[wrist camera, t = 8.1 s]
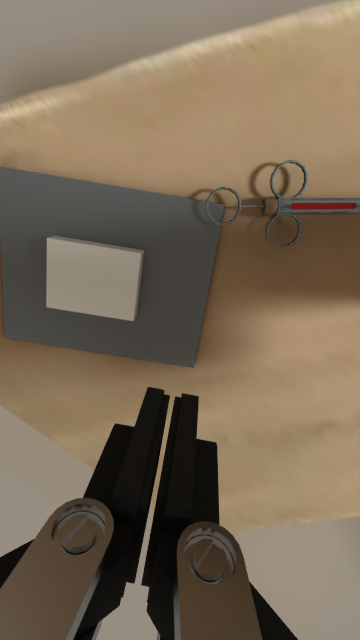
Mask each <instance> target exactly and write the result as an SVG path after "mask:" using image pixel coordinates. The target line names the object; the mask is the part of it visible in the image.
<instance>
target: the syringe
mask: <svg viewBox="0 0 360 640" xmlns="http://www.w3.org/2000/svg"><path fill="white" fill-rule="evenodd" d="M286 163H294V164H296V165H298V166H299V167H301V169H302V171H303V173H304V183H303V186H302V189H301V190H300V191H299V193H298V194H296V195H295V196H293V197H291V198H284V197H281V196H279V194H278V193H277V192H276V191H275V189H274V186H273V179H274V175H275V173H276V172H277V170H278V169H279V168H280V167H281V166H282V165H284V164H286ZM307 181H308V173H307V171H306V168H305V166H303V165H302V164H301V163H299V162H298V161H292V160H288V161H286V162H283V163H281V164H280V165H279V166H278V167H276V168H275V170H274V171H273V173H272V175H271V179H270V187H271V190H272V192H273V193H274V195H275V196H276V197H277V198H274V197H264V198H263V201H262V205H241V199H240V197H239V195H238V193H236V192H235V191H233V190H232V189H230V188H224V187H221V188H219V189H217V190H215V191H214V192H212V193H211V194H210V195H209V197H208V199H207V202H206V212H207V215H208V217H209V218H210V219H211V220H212V221H213V222H214V223H216V224H219V225H226V224H230V223H231V222H233V221H234V220H236V219H237V217H238V216H239V214H240V211H241V208H248V207H262V215H265V216H271V215H274V214H275V216H274V217H272V218H271V219H270V221H269V222H268V224H267V227H266V237H267V239H268V241H269V242H270V243H271V244H272V245H273V246H275V247H278V248H286V247H289V246H291V245H292V244H294V243H295V242H296V241H297V240H298V238H299V237H300V233H301V223H300V221H299V219H298V217H296V216H295V215H293V214H318V213H360V198H323V199H294V198H296V197H298V196H299V195H301V194H302V192H303V191H304V190H305V188H306V185H307ZM222 189H223V190H229V191H231V192H232V193H234V194H235V195H236V197H237V199H238V205H239V207H238V212H237V214H236V216H235V217H234V219H232V220H230V221H229V222H225V223H219V222H217V221H215V220H214V219H213V218H212V217H211V216H210V214H209V212H208V203H209V200H210V198H211V196H212V195H214V194H215V193H216V192H217V191H219V190H222ZM283 214H287V215H290V216H292V217H293V218H295V219H296V222H297V224H298V231H297V235H296V237H295V239H294V240H293V241H292V242H291V243H289V244H287V245H283V246H278V245H275V244H274V243H273V242H272V241H271V240H270V237H269V226H270V224H271V223H272V221H273V220H274V219H275V218H277V217H278V216H280V215H283Z"/></svg>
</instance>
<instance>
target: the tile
mask: <svg viewBox="0 0 360 640" xmlns="http://www.w3.org/2000/svg"><path fill="white" fill-rule="evenodd" d="M143 256H144V250H139V249H133V248H127V247H121V246H115V245H109V244H103V243H97V242H91V241H85V240H79V239H73V238H66V237H60V236H52V237H48V238H47V290H46V307H48V308H54V309H60V310H67V311H73V312H79V313H85V314H92V315H98V316H104V317H110V318H116V319H123V320H129V321H134V319H135V317H136V315H137V308H138V299H139V291H140V282H141V273H142V265H143Z"/></svg>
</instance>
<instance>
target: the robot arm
mask: <svg viewBox="0 0 360 640" xmlns="http://www.w3.org/2000/svg"><path fill="white" fill-rule="evenodd" d="M169 398H170V395H164V390H162V389H157V388H151V387H148V388H147V391H146V394H145V397H144V400H143V403H142V406H141V409H140V412H139V415H138V418H137V421H136V424H135V427H132V426H127V425H121V424H115V425H114V427H113V429H112V431H111V433H110V436H109V438H108V440H107V443H106V445H105V447H104V450H103V452H102V454H101V457H100V459H99V461H98V464H97V466H96V468H95V471H94V473H93V475H92V478H91V480H90V482H89V485H88V487H87V489H86V492H85V494H84V497H83V498H78V499H74V500H71V501H69V502H66V503H65V504H63V505H62V506H60V507H59V508H57V509H56V510H55V511H54V513H53V514H52V515H51V516H50V517H49V519H48V520H47V522H46V523H45V525H44V526H43V527H42V529H41V530H40V532H39V533H38V535H37V536H36V538H35V539H33V540H31V541H30V542H28V543H26V544H24V545H22V546H20V547H18V548H17V549H15V550H13V551H11V552H9V553H7V554H5V555H4V556H2V557H0V640H96V638H97V635H98V633H99V630H100V627H101V624H102V620H103V618H105V617H106V616H107V615H108V614H110V613H111V612H112V611H113V610H115V609H116V608H117V607H118V606H119V605H120V601H121V597H123V595H124V590H125V586H126V582H129V583H135V578H136V573H137V568H138V563H139V558H140V553H141V547H142V543H143V537H144V532H145V528H146V522H147V517H148V512H149V507H150V502H151V497H152V492H153V487H154V482H155V477H156V472H157V467H158V461H159V456H160V450H161V444H162V438H163V433H164V427H165V421H166V415H167V410H168V404H169ZM198 401H199V396H194V395H189V394H183V393H182V397H181V398H180V397H175V400H174V406H173V411H172V417H171V422H170V428H169V433H168V439H167V444H166V450H165V455H164V461H163V466H162V472H161V478H160V483H159V489H158V494H157V500H156V505H155V511H154V517H153V522H152V528H151V533H150V539H149V545H148V550H147V556H146V562H145V567H144V573H143V578H142V584H141V585H143V586H148V587H149V593H148V600H147V603H148V606H147V613H148V615H149V616H150V618H151V620H152V622H153V624H154V625H155V627H156V629H157V631H158V633H157V640H298V639H297V638H296V637H295V636H294V634H293V633H292V632H291V631H290V629H289V628H288V627H287V626H286V625H285V624H284V622H283V621H282V620H281V619H280V618H279V616H278V615H277V614H276V613H275V612H274V610H273V609H272V608H271V607H270V606H269V604H268V603H267V602H266V601H265V600H264V599H263V597H262V596H261V595H260V594H259V592H258V591H257V590H256V589H255V588H254V586H253V585H252V584H251V583H250V582H249V579H248V574H247V570H246V566H245V561H244V557H243V554H242V551H241V548H240V546H239V544H238V542H237V541H236V540H235V538H234V536H233V535H232V534H231V533H230V532H229V531H227V530H226V529H225V528H224V527H222V526H220V525H219V495H218V460H217V444H216V442H211V441H205V440H200V439H196V435H197V418H198Z"/></svg>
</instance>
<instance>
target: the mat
mask: <svg viewBox="0 0 360 640" xmlns="http://www.w3.org/2000/svg"><path fill="white" fill-rule="evenodd" d="M224 210H225V205H223V204H217V203H211V202H209V203H208V212H209V214H210V216H211V217H212V218H213V219H214V220H215V221H217V222H219V223H222V220H223V215H224ZM220 230H221V225H219V224H216V223H214V222H213V221H212V220H211V219H210V218H209V217H208V215H207V212H206V201H200V200H194V199H188V198H182V197H176V196H170V195H164V194H158V193H152V192H146V191H140V190H134V189H128V188H122V187H117V186H111V185H105V184H99V183H93V182H87V181H81V180H75V179H69V178H63V177H57V176H51V175H45V174H39V173H34V172H28V171H22V170H16V169H10V168H4V167H0V244H1V267H2V289H3V312H4V334H5V338H9V339H15V340H22V341H28V342H34V343H41V344H47V345H53V346H60V347H66V348H72V349H79V350H85V351H91V352H97V353H104V354H110V355H116V356H123V357H129V358H135V359H142V360H148V361H154V362H161V363H167V364H173V365H180V366H186V367H192V368H194V363H195V358H196V352H197V347H198V342H199V337H200V332H201V327H202V322H203V317H204V312H205V307H206V301H207V296H208V291H209V286H210V281H211V276H212V271H213V266H214V261H215V256H216V250H217V245H218V240H219V235H220ZM52 236H60V237H66V238H73V239H79V240H85V241H91V242H97V243H103V244H109V245H115V246H121V247H127V248H133V249H139V250H144V256H143V265H142V273H141V282H140V291H139V299H138V308H137V315H136V317H135V319H134V321H129V320H123V319H116V318H110V317H104V316H98V315H92V314H85V313H79V312H73V311H67V310H60V309H54V308H48V307H46V290H47V238H48V237H52Z"/></svg>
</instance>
